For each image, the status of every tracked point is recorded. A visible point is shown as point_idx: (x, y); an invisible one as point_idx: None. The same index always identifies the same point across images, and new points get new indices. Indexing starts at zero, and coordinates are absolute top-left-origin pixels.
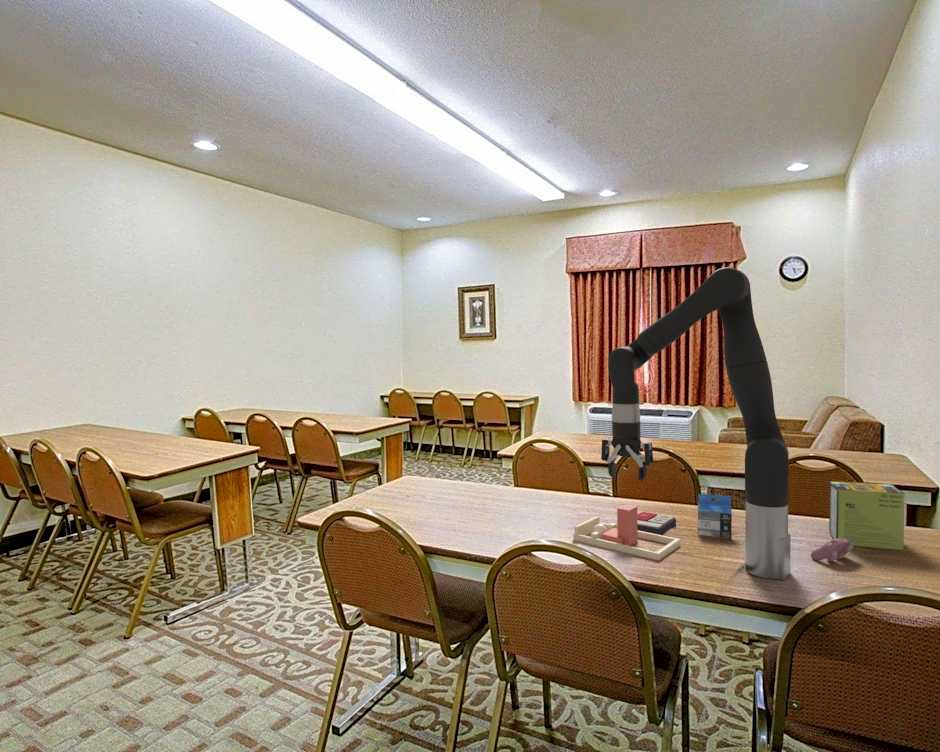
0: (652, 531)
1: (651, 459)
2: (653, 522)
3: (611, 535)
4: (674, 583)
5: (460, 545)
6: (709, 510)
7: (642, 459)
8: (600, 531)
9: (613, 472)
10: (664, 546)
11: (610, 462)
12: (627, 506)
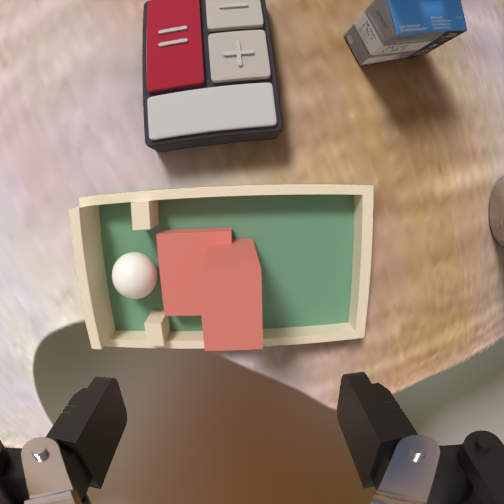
0: (256, 135)
1: (496, 469)
2: (234, 80)
3: (194, 308)
4: (401, 378)
5: (13, 431)
6: (423, 26)
7: (412, 497)
8: (146, 295)
9: (114, 423)
10: (359, 278)
11: (86, 497)
12: (224, 299)
